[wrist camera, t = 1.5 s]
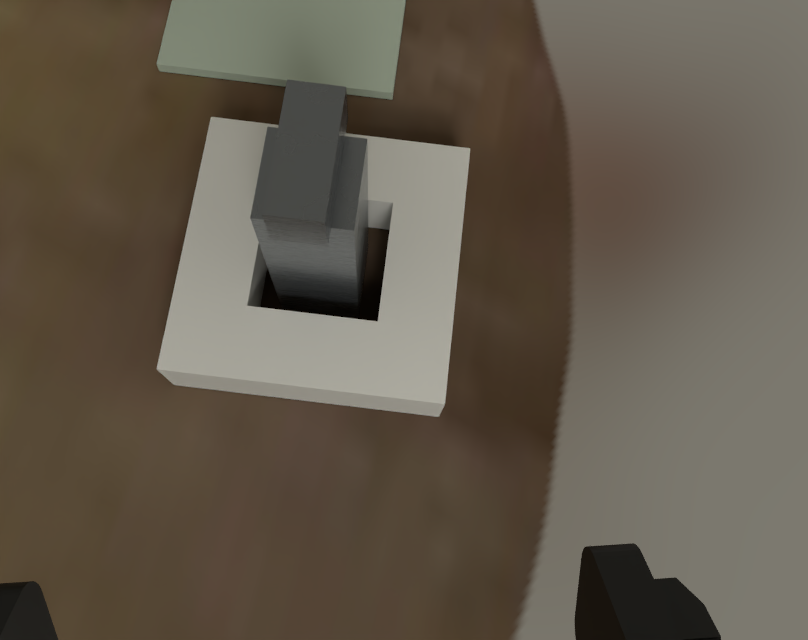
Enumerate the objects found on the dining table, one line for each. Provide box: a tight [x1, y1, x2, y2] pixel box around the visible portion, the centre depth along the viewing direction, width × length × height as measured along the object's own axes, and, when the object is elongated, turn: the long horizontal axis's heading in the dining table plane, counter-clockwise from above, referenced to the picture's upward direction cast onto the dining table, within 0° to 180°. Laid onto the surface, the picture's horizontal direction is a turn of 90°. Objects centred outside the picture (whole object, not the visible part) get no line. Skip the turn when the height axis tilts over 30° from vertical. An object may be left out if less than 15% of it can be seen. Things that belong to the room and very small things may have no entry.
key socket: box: [157, 117, 470, 417], centre depth 35 cm, size 12×12×3 cm
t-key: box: [250, 80, 368, 318], centre depth 31 cm, size 4×5×12 cm
